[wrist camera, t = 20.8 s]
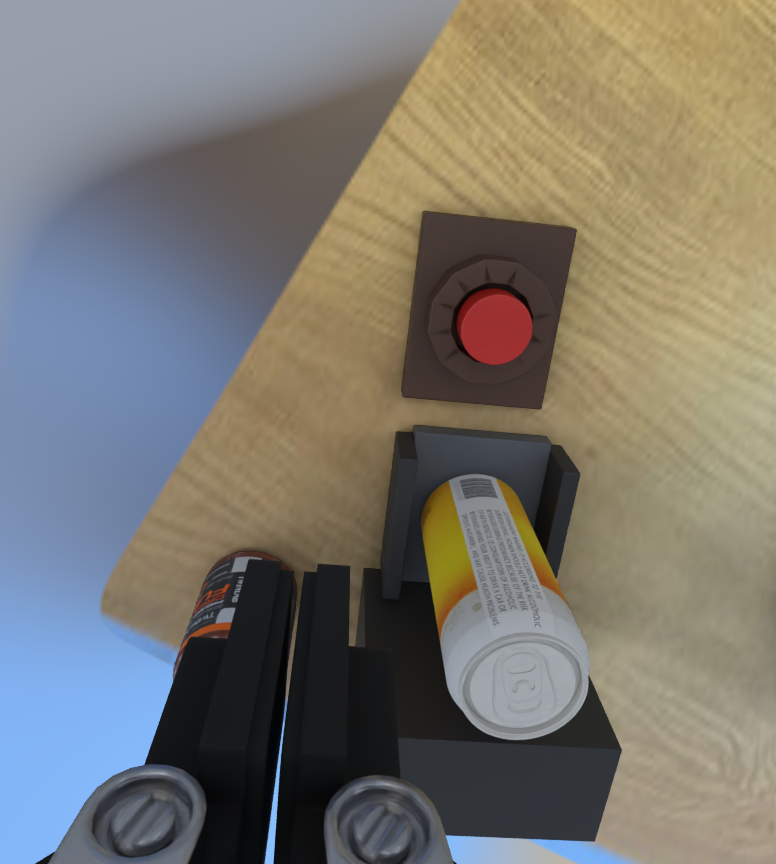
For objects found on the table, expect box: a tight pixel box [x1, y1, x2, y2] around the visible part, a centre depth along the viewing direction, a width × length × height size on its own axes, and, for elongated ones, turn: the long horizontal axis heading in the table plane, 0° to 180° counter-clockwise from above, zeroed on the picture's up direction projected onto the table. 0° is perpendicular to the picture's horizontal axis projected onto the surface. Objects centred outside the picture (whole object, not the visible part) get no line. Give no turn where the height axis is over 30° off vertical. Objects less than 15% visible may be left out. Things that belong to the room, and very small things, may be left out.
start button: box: [457, 288, 533, 365], centre depth 36 cm, size 4×4×2 cm
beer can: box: [421, 474, 590, 740], centre depth 36 cm, size 6×6×15 cm
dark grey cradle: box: [355, 425, 622, 842], centre depth 38 cm, size 12×16×14 cm
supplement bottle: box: [173, 551, 297, 681], centre depth 40 cm, size 6×6×11 cm
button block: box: [401, 211, 577, 409], centre depth 38 cm, size 8×10×3 cm
